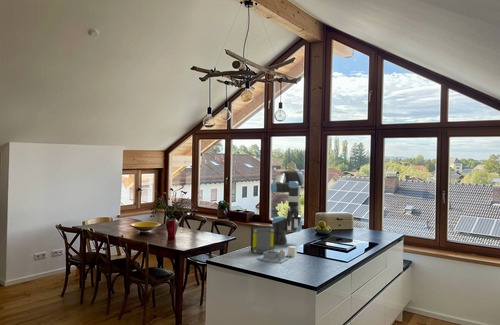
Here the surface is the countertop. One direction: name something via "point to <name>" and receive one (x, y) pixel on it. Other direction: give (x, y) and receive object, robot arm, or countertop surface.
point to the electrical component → (262, 239)
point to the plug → (292, 251)
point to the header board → (273, 256)
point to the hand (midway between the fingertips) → (292, 228)
